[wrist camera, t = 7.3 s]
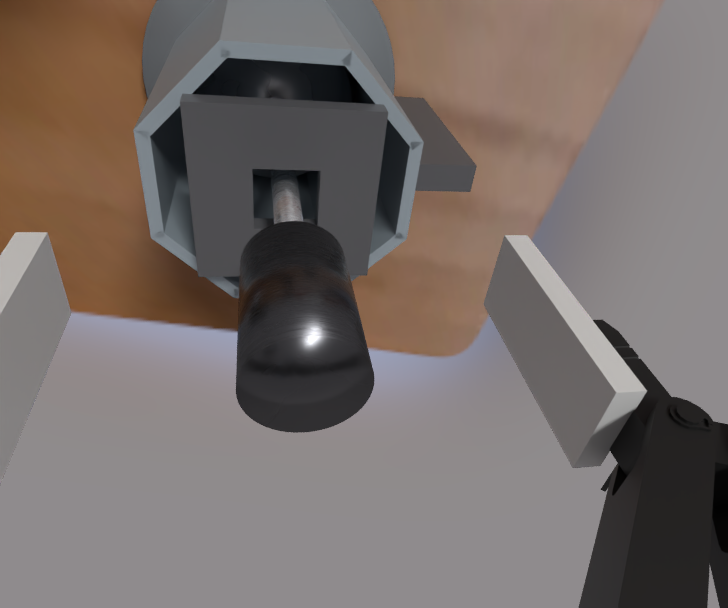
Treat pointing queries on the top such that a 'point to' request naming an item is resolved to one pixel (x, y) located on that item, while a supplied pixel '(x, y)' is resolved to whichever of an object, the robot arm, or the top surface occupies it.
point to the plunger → (295, 281)
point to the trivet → (185, 3)
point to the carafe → (284, 143)
